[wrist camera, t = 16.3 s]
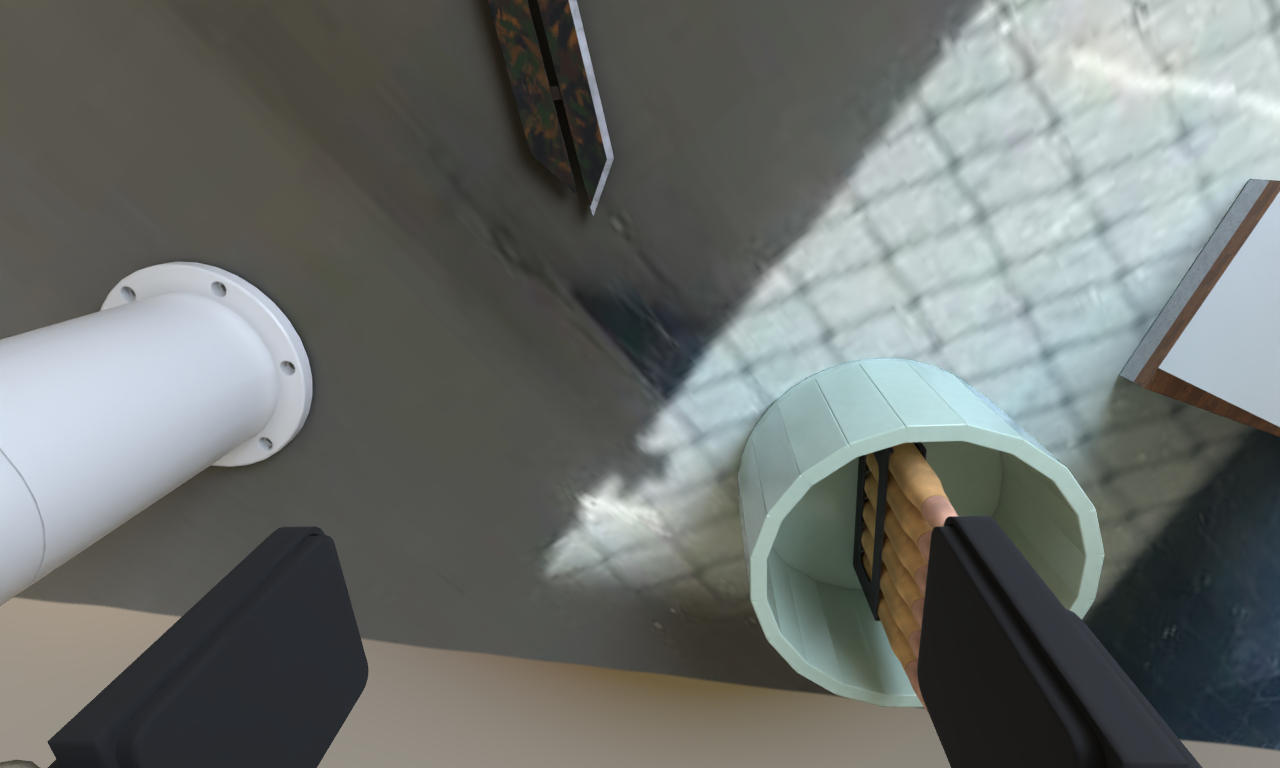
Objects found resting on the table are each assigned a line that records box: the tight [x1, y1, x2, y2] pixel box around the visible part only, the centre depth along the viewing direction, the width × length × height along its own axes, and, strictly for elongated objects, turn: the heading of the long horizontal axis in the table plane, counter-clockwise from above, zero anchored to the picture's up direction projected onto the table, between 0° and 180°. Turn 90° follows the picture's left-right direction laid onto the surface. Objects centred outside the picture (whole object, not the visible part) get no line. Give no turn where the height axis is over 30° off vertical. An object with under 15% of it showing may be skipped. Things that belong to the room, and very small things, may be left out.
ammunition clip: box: [853, 442, 958, 711], centre depth 32 cm, size 11×2×12 cm, turn 4°
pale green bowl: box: [738, 358, 1105, 707], centre depth 34 cm, size 16×16×9 cm
